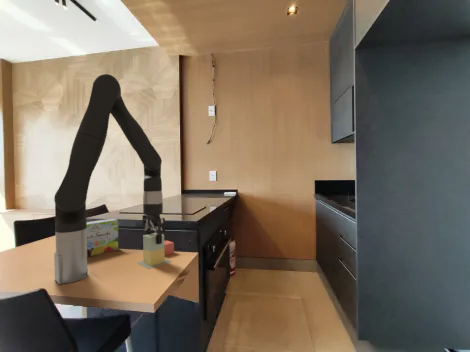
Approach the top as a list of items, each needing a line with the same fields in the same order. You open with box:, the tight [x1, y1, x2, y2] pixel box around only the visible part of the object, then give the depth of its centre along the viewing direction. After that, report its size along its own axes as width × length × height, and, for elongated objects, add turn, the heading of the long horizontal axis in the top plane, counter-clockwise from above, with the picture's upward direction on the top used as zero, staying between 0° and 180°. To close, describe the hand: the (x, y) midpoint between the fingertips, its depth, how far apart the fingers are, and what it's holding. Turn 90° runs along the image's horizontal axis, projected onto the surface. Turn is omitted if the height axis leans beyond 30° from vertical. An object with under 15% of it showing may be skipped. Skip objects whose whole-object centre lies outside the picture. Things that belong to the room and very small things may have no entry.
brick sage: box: [142, 232, 165, 252], centre depth 98 cm, size 6×6×6 cm
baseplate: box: [136, 258, 172, 270], centre depth 98 cm, size 10×10×1 cm
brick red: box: [164, 239, 175, 256], centre depth 110 cm, size 6×6×6 cm
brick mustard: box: [142, 249, 166, 266], centre depth 98 cm, size 6×6×6 cm
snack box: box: [87, 218, 119, 258], centre depth 112 cm, size 21×6×15 cm, turn 143°
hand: (153, 242), depth 98 cm, fingers open, 8 cm apart
